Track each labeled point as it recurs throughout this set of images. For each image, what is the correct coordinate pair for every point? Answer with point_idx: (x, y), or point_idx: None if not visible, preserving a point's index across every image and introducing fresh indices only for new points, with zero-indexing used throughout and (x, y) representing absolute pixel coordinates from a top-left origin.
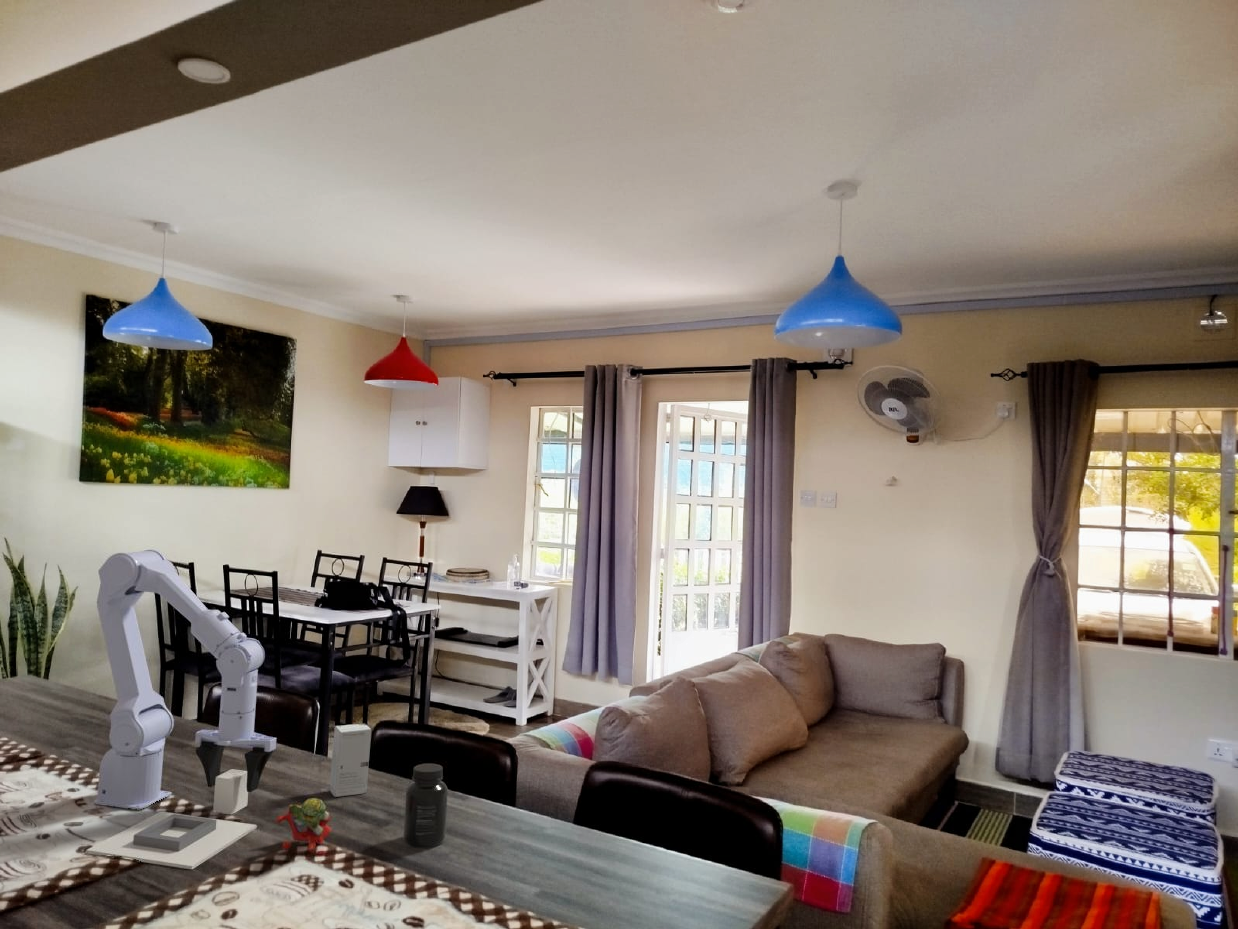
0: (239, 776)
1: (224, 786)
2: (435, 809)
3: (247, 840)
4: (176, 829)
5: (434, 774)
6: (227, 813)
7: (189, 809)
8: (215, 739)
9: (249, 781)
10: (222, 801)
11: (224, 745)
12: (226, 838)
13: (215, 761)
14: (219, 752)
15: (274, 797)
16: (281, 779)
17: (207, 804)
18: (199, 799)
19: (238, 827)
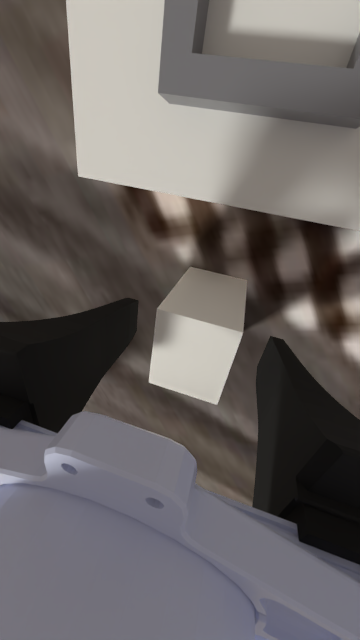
0: (155, 339)
1: (204, 305)
2: None
3: (52, 64)
4: (320, 55)
5: None
6: (203, 270)
7: (325, 294)
8: (257, 554)
9: (109, 307)
10: (216, 285)
11: (95, 414)
12: (94, 15)
13: (273, 422)
14: (265, 471)
15: (146, 365)
16: (176, 438)
17: (281, 329)
18: (315, 360)
19: (111, 141)
